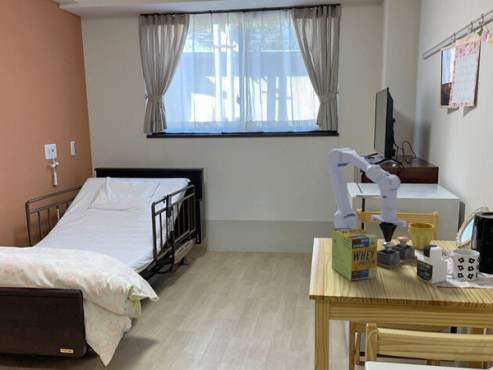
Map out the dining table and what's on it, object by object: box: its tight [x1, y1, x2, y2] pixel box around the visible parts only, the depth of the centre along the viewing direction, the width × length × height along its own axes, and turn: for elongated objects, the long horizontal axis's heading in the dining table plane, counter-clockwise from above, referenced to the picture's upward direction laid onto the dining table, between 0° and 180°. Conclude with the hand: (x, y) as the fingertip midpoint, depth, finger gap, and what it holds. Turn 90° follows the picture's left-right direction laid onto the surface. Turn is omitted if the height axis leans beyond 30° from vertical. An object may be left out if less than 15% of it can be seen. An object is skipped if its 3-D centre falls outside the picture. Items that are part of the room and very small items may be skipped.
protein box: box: [331, 226, 378, 282], centre depth 158 cm, size 10×15×16 cm
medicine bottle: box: [416, 244, 448, 285], centre depth 150 cm, size 7×7×12 cm
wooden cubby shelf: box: [377, 242, 418, 270], centre depth 169 cm, size 18×8×5 cm, turn 126°
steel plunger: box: [381, 240, 395, 254], centre depth 166 cm, size 4×4×4 cm
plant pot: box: [407, 221, 436, 250], centre depth 185 cm, size 10×10×10 cm
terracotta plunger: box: [396, 235, 410, 249], centre depth 172 cm, size 4×4×4 cm
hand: (387, 241), depth 165 cm, fingers closed
